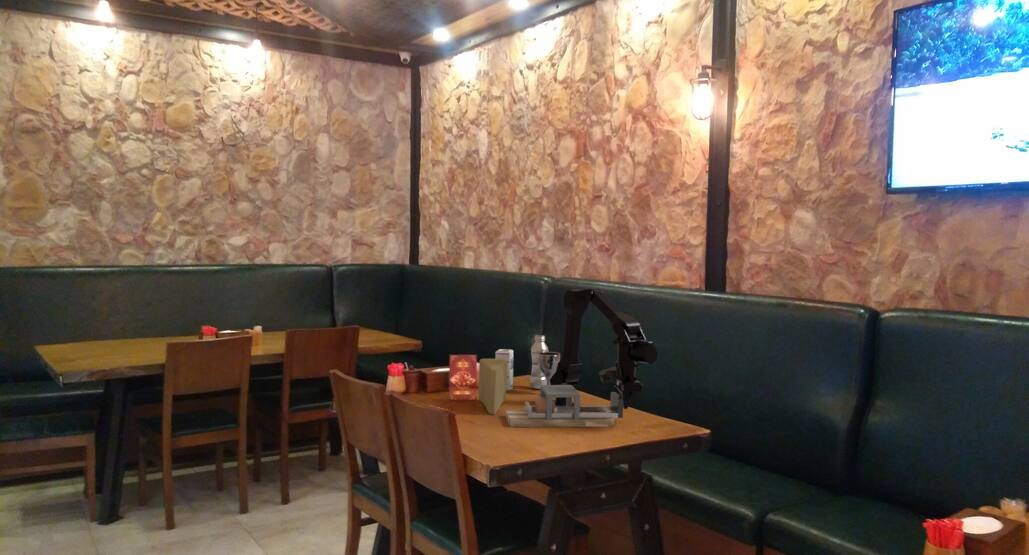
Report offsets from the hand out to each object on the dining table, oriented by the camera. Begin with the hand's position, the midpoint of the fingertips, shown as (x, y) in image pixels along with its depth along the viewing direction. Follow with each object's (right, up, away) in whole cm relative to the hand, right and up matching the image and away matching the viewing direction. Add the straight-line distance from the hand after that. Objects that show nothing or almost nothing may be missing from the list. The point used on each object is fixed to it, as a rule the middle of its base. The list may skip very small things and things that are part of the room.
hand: (625, 408), depth 250 cm
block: (-26, -1, -3) cm, 26 cm away
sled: (-17, -1, -2) cm, 17 cm away
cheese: (-42, -2, +15) cm, 45 cm away
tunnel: (-21, -2, -2) cm, 21 cm away
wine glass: (-23, -1, +38) cm, 44 cm away
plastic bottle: (-26, -1, +47) cm, 54 cm away
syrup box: (-39, 0, +46) cm, 60 cm away
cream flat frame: (-21, -4, -2) cm, 21 cm away
